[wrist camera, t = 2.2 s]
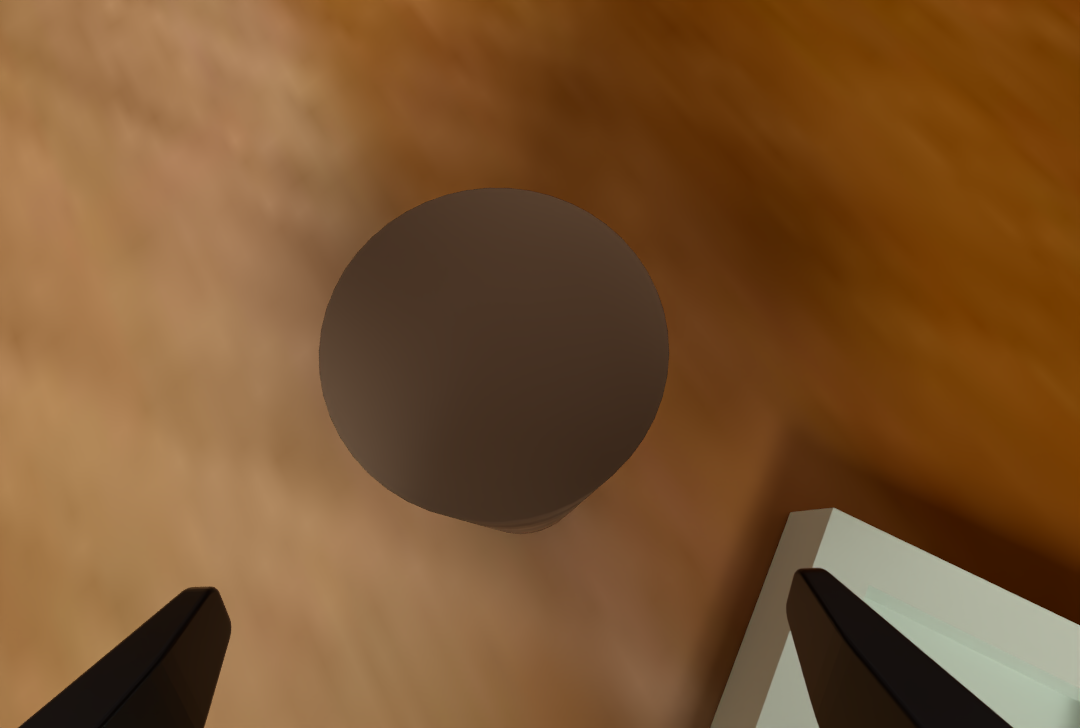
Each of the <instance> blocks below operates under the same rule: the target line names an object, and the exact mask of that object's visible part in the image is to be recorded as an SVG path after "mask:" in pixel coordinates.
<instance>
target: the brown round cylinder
mask: <svg viewBox="0 0 1080 728" xmlns="http://www.w3.org/2000/svg"><path fill="white" fill-rule="evenodd" d="M668 360H669V344H668V330H667V325H666V320H665V315H664V310H663V307H662V304H661V301H660V298H659V295H658V292H657V290H656V288H655V286H654V284H653V282H652V280H651V278H650V276H649V274H648V272H647V270H646V269H645V267H644V266H643V264H642V263H641V261H640V260H639V258H638V257H637V255H636V254H635V253H634V252H633V250H632V249H631V248H630V247H629V246H628V245H627V244H626V243H625V241H624V240H623V239H622V238H621V237H620V236H619V235H617V234H616V233H615V232H614V231H613V230H612V229H611V228H610V227H608V226H607V225H606V224H605V223H603V222H602V221H600V220H599V219H597V218H596V217H594V216H593V215H591V214H590V213H588V212H587V211H585V210H583V209H581V208H579V207H577V206H575V205H573V204H571V203H569V202H566V201H563V200H561V199H558V198H555V197H553V196H550V195H546V194H541V193H537V192H533V191H528V190H520V189H512V188H483V189H474V190H466V191H462V192H457V193H453V194H448V195H445V196H442V197H439V198H436V199H433V200H431V201H428V202H425V203H423V204H421V205H419V206H417V207H415V208H413V209H411V210H409V211H407V212H405V213H404V214H402V215H401V216H399V217H398V218H396V219H394V220H393V221H391V222H390V223H388V224H387V225H386V226H385V227H384V228H382V229H381V230H380V231H379V232H378V233H376V234H375V235H374V236H373V237H372V238H371V239H370V240H369V241H368V242H367V243H366V244H365V245H364V246H363V247H362V248H361V249H360V250H359V252H358V253H357V254H356V255H355V257H354V258H353V259H352V261H351V262H350V264H349V265H348V266H347V268H346V269H345V271H344V272H343V274H342V276H341V278H340V280H339V281H338V283H337V285H336V287H335V289H334V291H333V294H332V296H331V299H330V301H329V304H328V306H327V309H326V313H325V317H324V321H323V325H322V329H321V338H320V347H319V368H320V379H321V384H322V390H323V396H324V399H325V402H326V405H327V408H328V411H329V414H330V417H331V419H332V422H333V424H334V426H335V428H336V430H337V432H338V434H339V436H340V438H341V439H342V441H343V442H344V444H345V445H346V447H347V448H348V450H349V451H350V453H351V454H352V455H353V457H354V458H355V459H356V460H357V461H358V462H359V463H360V465H361V466H362V467H363V468H364V469H365V470H366V471H367V472H368V473H369V474H370V475H371V476H372V477H373V478H375V479H376V480H377V481H378V482H379V483H381V484H382V485H383V486H384V487H385V488H387V489H388V490H390V491H391V492H393V493H395V494H396V495H398V496H400V497H401V498H403V499H404V500H406V501H408V502H410V503H412V504H415V505H417V506H419V507H421V508H424V509H426V510H428V511H431V512H435V513H438V514H442V515H445V516H449V517H452V518H456V519H460V520H463V521H467V522H471V523H474V524H478V525H482V526H485V527H489V528H493V529H496V530H500V531H504V532H508V533H532V532H536V531H540V530H543V529H545V528H548V527H550V526H552V525H553V524H555V523H557V522H558V521H560V520H561V519H562V518H563V517H565V516H566V515H567V514H568V513H569V512H571V511H572V510H573V509H574V508H575V507H576V506H577V505H579V504H580V503H581V502H582V501H583V500H584V499H586V498H587V497H588V496H589V495H590V494H591V493H593V492H594V491H595V490H596V489H597V488H598V487H600V486H601V485H602V484H603V483H604V482H605V481H607V480H608V479H609V478H610V477H611V476H612V475H614V473H615V472H616V471H617V470H618V469H619V468H620V467H621V466H622V465H623V464H624V463H625V462H626V461H627V460H628V459H629V458H630V457H631V455H632V454H633V453H634V451H635V450H636V448H637V447H638V446H639V444H640V443H641V442H642V440H643V439H644V437H645V435H646V433H647V431H648V430H649V428H650V426H651V424H652V422H653V420H654V418H655V416H656V413H657V410H658V408H659V405H660V402H661V400H662V397H663V392H664V388H665V383H666V379H667V373H668Z"/></svg>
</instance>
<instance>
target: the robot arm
mask: <svg viewBox="0 0 1080 728" xmlns="http://www.w3.org/2000/svg"><path fill="white" fill-rule="evenodd" d="M786 615H787V620H788V624H789V627H790V631H791V634H792V638H793V641H794V645H795V648H796V652H797V655H798V659H799V662H800V666H801V670H802V673H803V677H804V680H805V684H806V687H807V691H808V694H809V698H810V701H811V705H812V708H813V711H814V714H815V718H816V720H817V723H818V726H819V728H1013V727H1012V726H1011V725H1010V724H1009V723H1007V722H1006V721H1005V720H1004V719H1003V718H1001V717H1000V716H999V715H998V714H997V713H995V712H994V711H993V710H992V709H991V708H990V707H988V706H987V705H986V704H985V703H984V702H982V701H981V700H980V699H979V698H978V697H976V696H975V695H974V694H973V693H972V692H971V691H969V690H968V689H967V688H966V687H965V686H963V685H962V684H961V683H960V682H959V681H958V680H956V679H955V678H954V677H953V676H952V675H950V674H949V673H948V672H947V671H946V670H944V669H943V668H942V667H941V666H940V665H939V664H937V663H936V662H935V661H934V660H933V659H931V658H930V657H929V656H928V655H927V654H925V653H924V652H923V651H922V650H921V649H920V648H918V647H917V646H916V645H915V644H914V643H912V642H911V641H910V640H909V639H908V638H906V637H905V636H904V635H903V634H902V633H901V632H899V631H898V630H897V629H896V628H895V627H893V626H892V625H891V624H890V623H889V622H888V621H886V620H885V619H884V618H883V617H882V616H880V615H879V614H878V613H877V612H876V611H874V610H873V609H872V608H871V607H870V606H869V605H867V604H866V603H865V602H864V601H863V600H861V599H860V598H859V597H858V596H857V595H855V594H854V593H853V592H852V591H851V590H850V589H848V588H847V587H846V586H845V585H844V584H842V583H841V582H840V581H839V580H838V579H836V578H835V577H834V576H833V575H832V574H831V573H829V572H828V571H827V570H825V569H822V568H800V569H798V570H796V572H795V573H794V576H793V579H792V583H791V587H790V591H789V594H788V598H787V602H786ZM230 635H231V621H230V618H229V616H228V613H227V611H226V608H225V605H224V603H223V600H222V598H221V595H220V593H219V591H218V590H217V589H216V588H215V587H191V588H187V589H186V590H184V591H182V592H181V593H180V594H179V595H177V596H176V597H175V598H174V599H173V600H171V601H170V602H169V603H168V604H167V605H165V606H164V607H163V608H162V609H160V610H159V611H158V612H157V613H156V614H154V615H153V616H152V617H151V618H150V619H148V620H147V621H146V622H145V623H144V624H142V625H141V626H140V627H139V628H138V629H136V630H135V631H134V632H133V633H132V634H130V635H129V636H128V637H127V638H126V639H124V640H123V641H122V642H121V643H120V644H118V645H117V646H116V647H115V648H114V649H112V650H111V651H110V652H109V653H107V654H106V655H105V656H104V657H103V658H101V659H100V660H99V661H98V662H97V663H95V664H94V665H93V666H92V667H91V668H89V669H88V670H87V671H86V672H85V673H83V674H82V675H81V676H80V677H79V678H77V679H76V680H75V681H74V682H73V683H71V684H70V685H69V686H68V687H67V688H65V689H64V690H63V691H62V692H61V693H59V694H58V695H57V696H56V697H55V698H53V699H52V700H51V701H50V702H48V703H47V704H46V705H45V706H44V707H42V708H41V709H40V710H39V711H38V712H36V713H35V714H34V715H33V716H32V717H30V718H29V719H28V720H27V721H26V722H24V723H23V724H22V725H21V726H20V727H18V728H204V726H205V723H206V719H207V716H208V713H209V709H210V706H211V702H212V699H213V695H214V692H215V688H216V685H217V681H218V678H219V674H220V671H221V667H222V664H223V660H224V657H225V653H226V650H227V646H228V643H229V639H230Z"/></svg>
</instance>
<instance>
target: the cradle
mask: <svg viewBox="0 0 1080 728" xmlns="http://www.w3.org/2000/svg"><path fill="white" fill-rule="evenodd" d="M800 568H822V569H825V570H827V571H828V572H829V573H831V574H832V575H833V576H834V577H835V578H836V579H838V580H839V581H840V582H841V583H842V584H844V585H845V586H846V587H847V588H848V589H850V590H851V591H852V592H853V593H854V594H855V595H857V596H858V597H859V598H860V599H861V600H863V601H864V602H865V603H866V604H867V605H869V606H870V607H871V608H872V609H873V610H874V611H876V612H877V613H878V614H879V615H880V616H882V617H883V618H884V619H885V620H886V621H888V622H889V623H890V624H891V625H892V626H893V627H895V628H896V629H897V630H898V631H899V632H901V633H902V634H903V635H904V636H905V637H906V638H908V639H909V640H910V641H911V642H912V643H914V644H915V645H916V646H917V647H918V648H920V649H921V650H922V651H923V652H924V653H925V654H927V655H928V656H929V657H930V658H931V659H933V660H934V661H935V662H936V663H937V664H939V665H940V666H941V667H942V668H943V669H944V670H946V671H947V672H948V673H949V674H950V675H952V676H953V677H954V678H955V679H956V680H958V681H959V682H960V683H961V684H962V685H963V686H965V687H966V688H967V689H968V690H969V691H971V692H972V693H973V694H974V695H975V696H976V697H978V698H979V699H980V700H981V701H982V702H984V703H985V704H986V705H987V706H988V707H990V708H991V709H992V710H993V711H994V712H995V713H997V714H998V715H999V716H1000V717H1001V718H1003V719H1004V720H1005V721H1006V722H1007V723H1009V724H1010V725H1011V726H1012V727H1013V728H1080V625H1078V624H1076V623H1074V622H1072V621H1069V620H1067V619H1065V618H1063V617H1061V616H1059V615H1057V614H1055V613H1053V612H1051V611H1049V610H1046V609H1044V608H1042V607H1040V606H1038V605H1036V604H1034V603H1032V602H1030V601H1028V600H1026V599H1023V598H1021V597H1019V596H1017V595H1015V594H1013V593H1011V592H1009V591H1007V590H1005V589H1003V588H1001V587H998V586H996V585H994V584H992V583H990V582H988V581H986V580H984V579H982V578H980V577H978V576H975V575H973V574H971V573H969V572H967V571H965V570H963V569H961V568H959V567H957V566H955V565H952V564H950V563H948V562H946V561H944V560H942V559H940V558H938V557H936V556H934V555H932V554H929V553H927V552H925V551H923V550H921V549H919V548H917V547H915V546H913V545H911V544H909V543H906V542H904V541H902V540H900V539H898V538H896V537H894V536H892V535H890V534H888V533H886V532H884V531H881V530H879V529H877V528H875V527H873V526H871V525H869V524H867V523H865V522H863V521H861V520H858V519H856V518H854V517H852V516H850V515H848V514H846V513H844V512H842V511H840V510H838V509H835V508H825V509H816V510H807V511H798V512H790V515H789V517H788V520H787V523H786V525H785V528H784V531H783V533H782V536H781V539H780V541H779V544H778V547H777V550H776V552H775V555H774V558H773V560H772V563H771V566H770V568H769V571H768V574H767V576H766V579H765V582H764V584H763V587H762V590H761V593H760V595H759V598H758V601H757V603H756V606H755V609H754V611H753V614H752V617H751V619H750V622H749V625H748V627H747V630H746V633H745V636H744V638H743V641H742V644H741V646H740V649H739V652H738V654H737V657H736V660H735V662H734V665H733V668H732V671H731V673H730V676H729V679H728V681H727V684H726V687H725V689H724V692H723V695H722V697H721V700H720V703H719V705H718V708H717V711H716V714H715V716H714V719H713V722H712V724H711V727H710V728H819V726H818V723H817V720H816V718H815V714H814V711H813V708H812V705H811V701H810V698H809V694H808V691H807V687H806V684H805V680H804V677H803V673H802V670H801V666H800V662H799V659H798V655H797V652H796V648H795V645H794V641H793V638H792V634H791V631H790V627H789V624H788V620H787V615H786V602H787V598H788V594H789V591H790V587H791V583H792V579H793V576H794V573H795V572H796V570H798V569H800Z"/></svg>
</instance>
